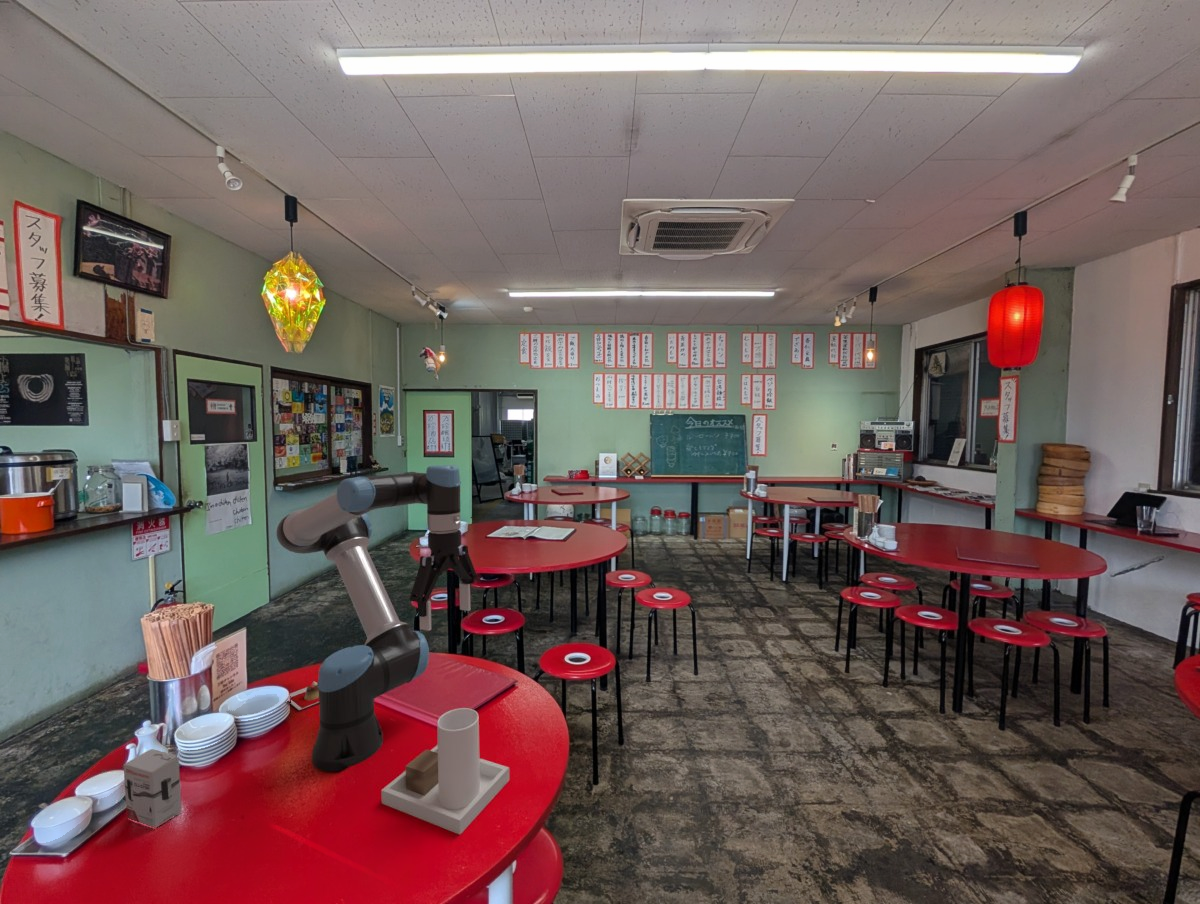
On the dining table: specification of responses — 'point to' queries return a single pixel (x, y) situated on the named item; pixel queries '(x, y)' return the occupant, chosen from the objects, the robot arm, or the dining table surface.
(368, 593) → the robot arm
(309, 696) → the dessert
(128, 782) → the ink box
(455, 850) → the dining table surface
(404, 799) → the tray
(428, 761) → the walnut block
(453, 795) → the cup
